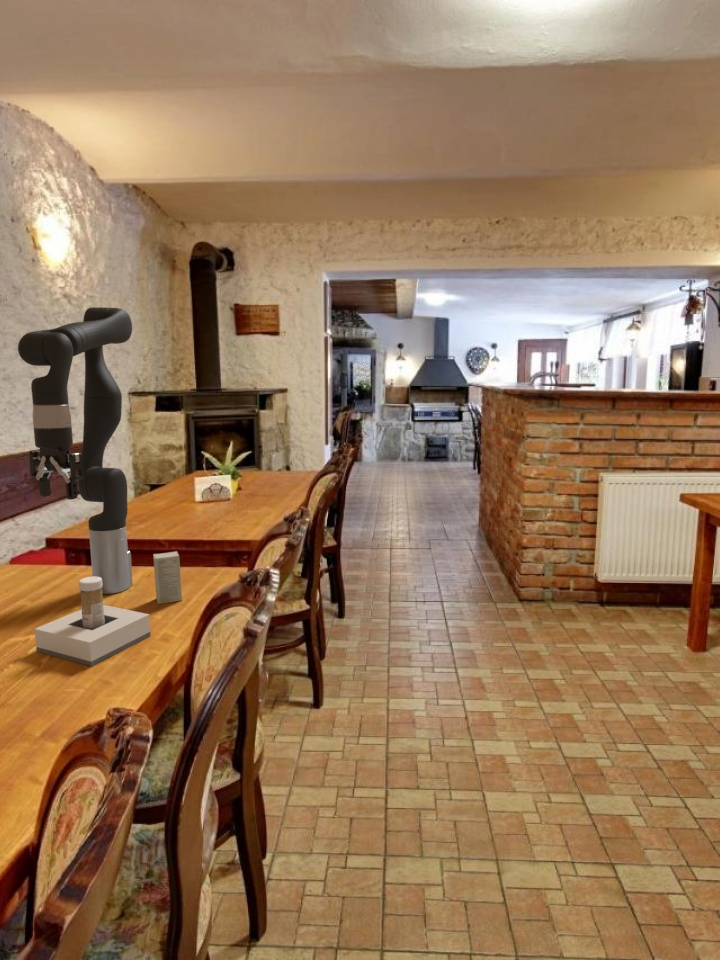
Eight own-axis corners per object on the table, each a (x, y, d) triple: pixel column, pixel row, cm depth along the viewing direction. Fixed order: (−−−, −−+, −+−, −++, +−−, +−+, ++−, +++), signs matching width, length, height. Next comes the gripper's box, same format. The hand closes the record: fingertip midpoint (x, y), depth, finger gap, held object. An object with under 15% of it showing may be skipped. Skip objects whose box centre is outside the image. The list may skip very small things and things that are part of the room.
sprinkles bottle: (79, 639, 130) (74, 579, 128) (100, 632, 133) (95, 574, 131) (89, 645, 127) (84, 584, 125) (110, 638, 131) (106, 578, 128)
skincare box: (180, 595, 159) (178, 550, 157) (182, 601, 155) (180, 555, 153) (155, 598, 157) (152, 553, 155) (156, 604, 153) (154, 558, 151)
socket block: (98, 623, 141) (96, 603, 140) (150, 635, 134) (149, 614, 133) (36, 651, 127) (34, 628, 126) (91, 666, 120) (89, 642, 119)
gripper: (89, 425, 133) (95, 497, 136) (45, 423, 139) (51, 492, 142) (60, 427, 127) (66, 503, 129) (15, 425, 133) (22, 498, 135)
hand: (58, 497), depth 136 cm, fingers open, 8 cm apart
